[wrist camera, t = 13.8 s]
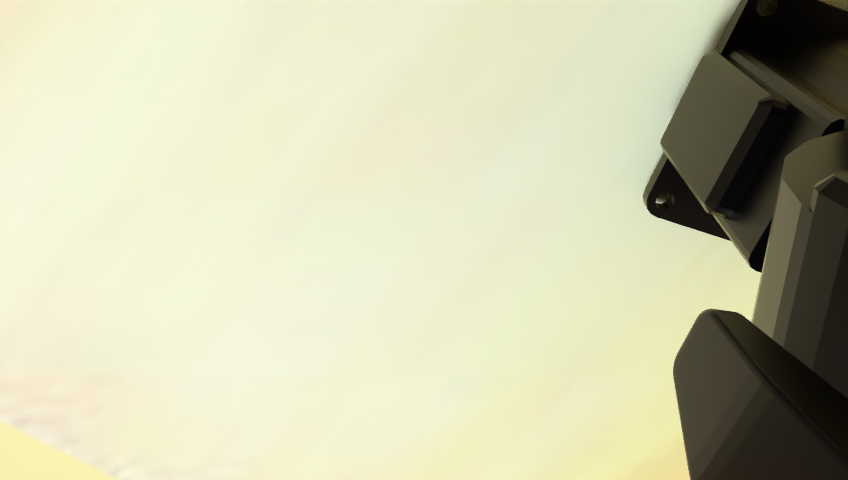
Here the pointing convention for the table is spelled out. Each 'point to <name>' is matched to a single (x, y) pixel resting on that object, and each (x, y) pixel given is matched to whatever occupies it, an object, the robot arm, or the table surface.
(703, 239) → the table surface
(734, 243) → the robot arm
